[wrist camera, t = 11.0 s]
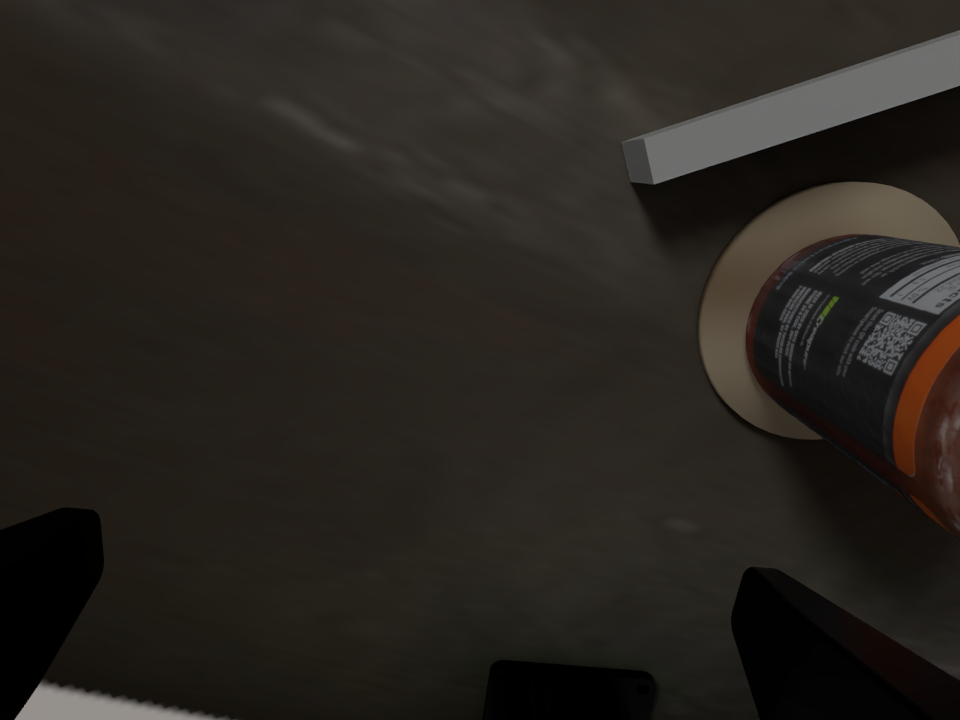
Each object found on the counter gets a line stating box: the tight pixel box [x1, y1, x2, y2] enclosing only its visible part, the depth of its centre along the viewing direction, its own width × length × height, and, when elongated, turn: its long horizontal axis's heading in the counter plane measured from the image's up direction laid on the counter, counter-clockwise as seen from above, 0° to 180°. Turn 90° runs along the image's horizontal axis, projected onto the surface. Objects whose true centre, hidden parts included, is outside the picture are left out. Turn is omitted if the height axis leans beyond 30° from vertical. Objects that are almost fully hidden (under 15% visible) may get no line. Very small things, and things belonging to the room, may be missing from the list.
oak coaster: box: [697, 182, 960, 440], centre depth 20 cm, size 8×8×1 cm
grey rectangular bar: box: [621, 30, 960, 184], centre depth 17 cm, size 10×1×2 cm, turn 108°
